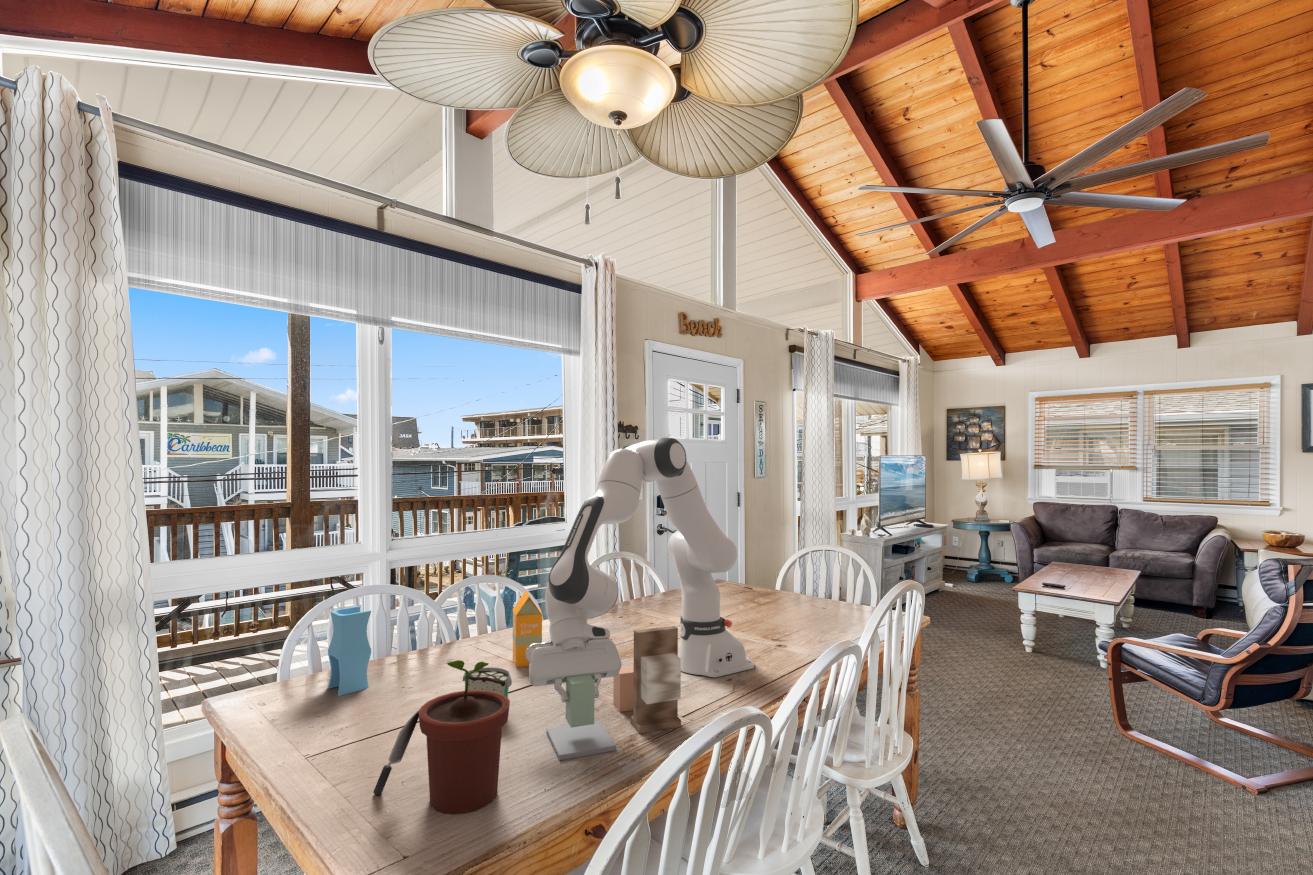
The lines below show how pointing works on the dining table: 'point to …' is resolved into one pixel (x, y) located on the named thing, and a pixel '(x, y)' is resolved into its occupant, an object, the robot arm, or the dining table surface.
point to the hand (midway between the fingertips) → (580, 698)
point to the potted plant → (458, 746)
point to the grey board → (580, 740)
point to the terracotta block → (624, 689)
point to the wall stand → (656, 679)
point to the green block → (580, 700)
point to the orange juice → (525, 628)
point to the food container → (490, 680)
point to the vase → (349, 650)
